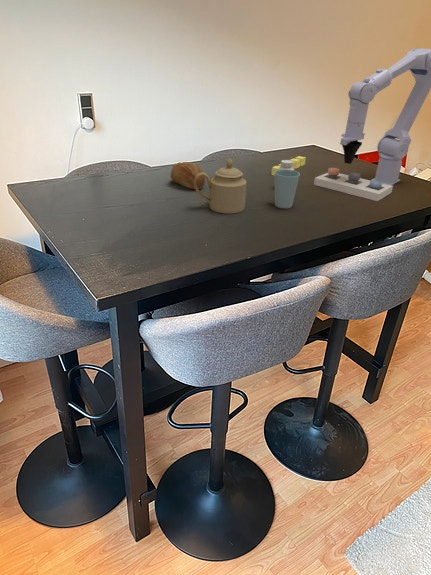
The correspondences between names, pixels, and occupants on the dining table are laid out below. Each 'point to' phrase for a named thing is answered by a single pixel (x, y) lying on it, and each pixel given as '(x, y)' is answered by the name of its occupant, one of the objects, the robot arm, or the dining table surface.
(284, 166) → the supplement bottle
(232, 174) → the sugar bowl
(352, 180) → the charcoal button
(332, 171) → the terracotta button
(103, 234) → the dining table surface
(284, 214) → the dining table surface
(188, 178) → the bread roll
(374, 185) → the slate blue button
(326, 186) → the button panel
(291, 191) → the cup
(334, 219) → the dining table surface
